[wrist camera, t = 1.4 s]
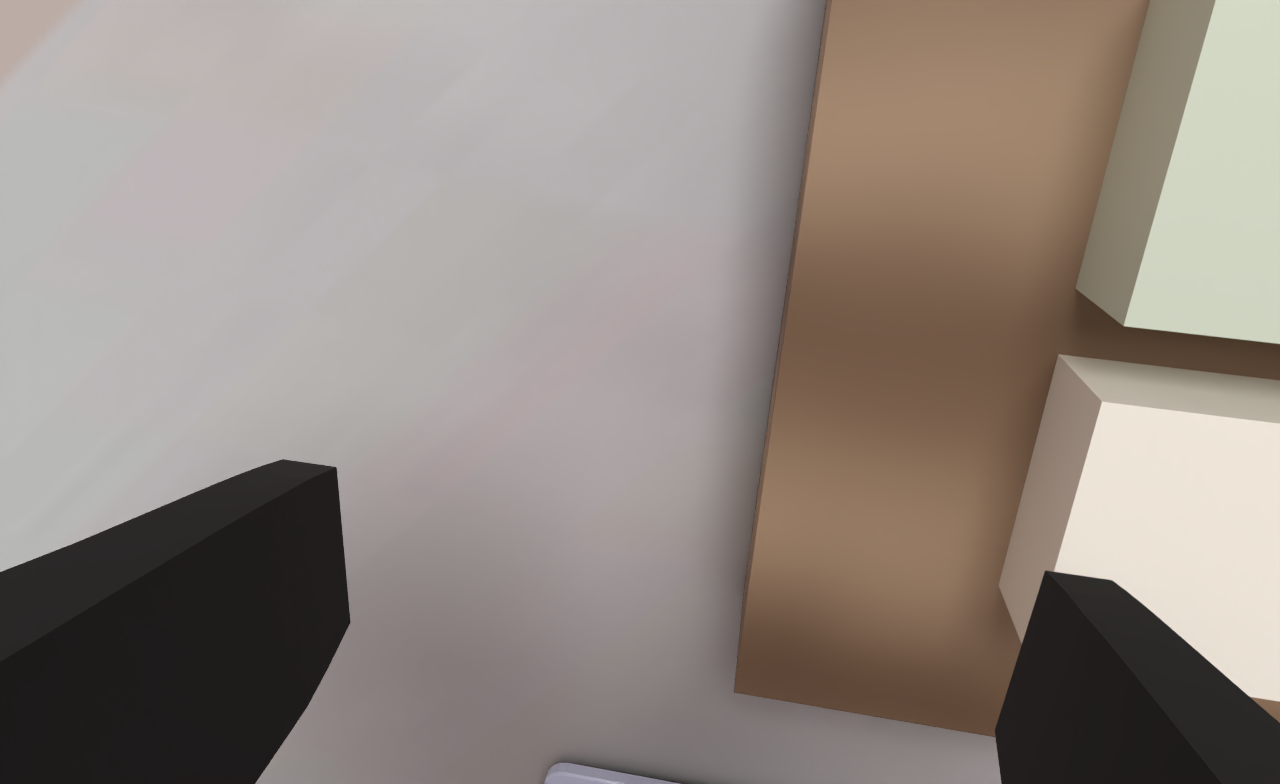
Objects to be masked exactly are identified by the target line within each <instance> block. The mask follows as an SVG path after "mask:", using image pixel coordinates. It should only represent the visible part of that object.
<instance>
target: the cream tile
mask: <svg viewBox="0 0 1280 784" xmlns="http://www.w3.org/2000/svg"><path fill="white" fill-rule="evenodd" d="M1045 570H1046V571H1053V572H1060V573H1066V574H1073V575H1080V576H1087V577H1094V578H1101V579H1108V580H1112V581H1114V582H1115V583H1117V584H1118V585H1119V586H1120V587H1122V588H1123V589H1124V590H1126V591H1127V592H1128V593H1130V594H1131V595H1132V596H1133V597H1135V598H1136V599H1137V600H1138V601H1140V602H1141V603H1142V604H1143V605H1144V606H1146V607H1147V608H1148V609H1149V610H1150V611H1152V612H1153V613H1154V614H1155V615H1156V616H1157V617H1159V618H1160V619H1161V620H1162V621H1163V622H1164V623H1166V624H1167V625H1168V626H1169V627H1170V628H1171V629H1172V630H1174V631H1175V632H1176V633H1177V634H1178V635H1179V636H1181V637H1182V638H1183V639H1184V640H1185V641H1186V642H1187V643H1189V644H1190V645H1191V646H1192V647H1193V648H1194V649H1195V650H1197V651H1198V652H1199V653H1200V654H1201V655H1202V656H1203V657H1205V658H1206V659H1207V660H1208V661H1209V662H1210V663H1211V664H1213V665H1214V666H1215V667H1216V668H1217V669H1218V670H1219V671H1221V672H1222V673H1223V674H1224V675H1225V676H1226V677H1227V678H1229V679H1230V680H1231V681H1232V682H1233V683H1234V684H1235V685H1237V686H1238V687H1239V688H1240V689H1241V690H1242V691H1243V692H1245V693H1246V694H1247V695H1248V696H1249V697H1254V698H1260V699H1267V700H1273V701H1279V702H1280V380H1271V379H1263V378H1254V377H1246V376H1238V375H1229V374H1221V373H1212V372H1204V371H1195V370H1187V369H1178V368H1170V367H1162V366H1153V365H1145V364H1136V363H1128V362H1119V361H1111V360H1102V359H1094V358H1086V357H1077V356H1069V355H1060V354H1058V358H1057V362H1056V365H1055V369H1054V373H1053V377H1052V381H1051V385H1050V389H1049V392H1048V396H1047V400H1046V404H1045V408H1044V412H1043V416H1042V419H1041V423H1040V427H1039V431H1038V435H1037V439H1036V443H1035V446H1034V450H1033V454H1032V458H1031V462H1030V466H1029V470H1028V474H1027V477H1026V481H1025V485H1024V489H1023V493H1022V497H1021V501H1020V504H1019V508H1018V512H1017V516H1016V520H1015V524H1014V528H1013V531H1012V535H1011V539H1010V543H1009V547H1008V551H1007V555H1006V558H1005V562H1004V566H1003V570H1002V574H1001V578H1000V582H999V588H1000V590H1001V593H1002V596H1003V598H1004V601H1005V603H1006V606H1007V608H1008V611H1009V613H1010V616H1011V618H1012V621H1013V623H1014V626H1015V628H1016V631H1017V633H1018V636H1019V639H1020V641H1021V644H1022V642H1023V639H1024V636H1025V633H1026V629H1027V626H1028V623H1029V620H1030V617H1031V614H1032V610H1033V607H1034V604H1035V601H1036V598H1037V594H1038V591H1039V588H1040V585H1041V582H1042V579H1043V575H1044V572H1045Z"/></svg>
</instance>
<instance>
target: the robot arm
mask: <svg viewBox="0 0 1280 784" xmlns="http://www.w3.org/2000/svg"><path fill="white" fill-rule="evenodd" d="M349 624H350V613H349V602H348V591H347V580H346V568H345V557H344V546H343V535H342V524H341V512H340V501H339V490H338V479H337V468H336V467H331V466H324V465H318V464H311V463H304V462H297V461H290V460H279V461H276V462H273V463H270V464H267V465H263V466H261V467H258V468H255V469H252V470H250V471H247V472H244V473H242V474H239V475H237V476H234V477H231V478H229V479H227V480H224V481H222V482H219V483H217V484H214V485H212V486H209V487H207V488H205V489H202V490H200V491H197V492H195V493H193V494H190V495H188V496H186V497H183V498H181V499H179V500H176V501H174V502H171V503H169V504H167V505H164V506H162V507H160V508H157V509H155V510H153V511H150V512H148V513H145V514H143V515H141V516H138V517H136V518H134V519H131V520H129V521H127V522H124V523H122V524H119V525H117V526H115V527H112V528H110V529H108V530H105V531H103V532H100V533H98V534H96V535H93V536H91V537H89V538H86V539H84V540H81V541H79V542H77V543H74V544H72V545H69V546H67V547H64V548H61V549H59V550H56V551H54V552H51V553H49V554H46V555H43V556H41V557H38V558H36V559H33V560H31V561H28V562H25V563H23V564H20V565H18V566H15V567H13V568H10V569H7V570H5V571H2V572H0V784H255V783H256V781H257V780H258V778H259V777H260V776H261V774H262V773H263V771H264V770H265V768H266V767H267V765H268V764H269V762H270V761H271V759H272V758H273V756H274V755H275V754H276V752H277V751H278V749H279V748H280V746H281V745H282V743H283V742H284V740H285V739H286V737H287V736H288V735H289V733H290V732H291V730H292V729H293V727H294V726H295V724H296V723H297V721H298V720H299V718H300V717H301V715H302V714H303V712H304V711H305V709H306V708H307V706H308V704H309V702H310V701H311V699H312V697H313V695H314V693H315V691H316V689H317V687H318V686H319V684H320V682H321V680H322V678H323V676H324V674H325V672H326V671H327V669H328V667H329V665H330V663H331V661H332V659H333V657H334V655H335V653H336V650H337V648H338V646H339V644H340V642H341V640H342V638H343V636H344V634H345V632H346V630H347V628H348V626H349ZM995 736H996V743H997V751H998V759H999V766H1000V774H1001V782H1002V784H1280V723H1279V722H1278V721H1277V720H1276V719H1275V718H1274V717H1272V716H1271V715H1270V714H1269V713H1268V712H1267V711H1265V710H1264V709H1263V708H1262V707H1261V706H1260V705H1258V704H1257V703H1256V702H1255V701H1254V700H1253V699H1252V698H1250V697H1249V696H1248V695H1247V694H1246V693H1245V692H1243V691H1242V690H1241V689H1240V688H1239V687H1238V686H1237V685H1235V684H1234V683H1233V682H1232V681H1231V680H1230V679H1229V678H1227V677H1226V676H1225V675H1224V674H1223V673H1222V672H1221V671H1219V670H1218V669H1217V668H1216V667H1215V666H1214V665H1213V664H1211V663H1210V662H1209V661H1208V660H1207V659H1206V658H1205V657H1203V656H1202V655H1201V654H1200V653H1199V652H1198V651H1197V650H1195V649H1194V648H1193V647H1192V646H1191V645H1190V644H1189V643H1187V642H1186V641H1185V640H1184V639H1183V638H1182V637H1181V636H1179V635H1178V634H1177V633H1176V632H1175V631H1174V630H1172V629H1171V628H1170V627H1169V626H1168V625H1167V624H1166V623H1164V622H1163V621H1162V620H1161V619H1160V618H1159V617H1157V616H1156V615H1155V614H1154V613H1153V612H1152V611H1150V610H1149V609H1148V608H1147V607H1146V606H1144V605H1143V604H1142V603H1141V602H1140V601H1138V600H1137V599H1136V598H1135V597H1133V596H1132V595H1131V594H1130V593H1128V592H1127V591H1126V590H1124V589H1123V588H1122V587H1120V586H1119V585H1118V584H1117V583H1115V582H1114V581H1112V580H1108V579H1101V578H1094V577H1087V576H1080V575H1073V574H1066V573H1060V572H1053V571H1046V570H1045V572H1044V575H1043V579H1042V582H1041V585H1040V588H1039V591H1038V594H1037V598H1036V601H1035V604H1034V607H1033V610H1032V614H1031V617H1030V620H1029V623H1028V626H1027V629H1026V633H1025V636H1024V639H1023V642H1022V645H1021V648H1020V652H1019V655H1018V658H1017V661H1016V664H1015V668H1014V671H1013V674H1012V677H1011V680H1010V683H1009V687H1008V690H1007V693H1006V696H1005V699H1004V702H1003V706H1002V709H1001V712H1000V715H999V718H998V721H997V725H996V728H995ZM544 784H680V783H674V782H669V781H664V780H658V779H653V778H647V777H642V776H637V775H631V774H626V773H621V772H615V771H610V770H604V769H599V768H594V767H588V766H583V765H577V764H572V763H558V764H555V765H553V766H552V767H551V768H550V769H549V770H548V773H547V776H546V779H545V782H544Z"/></svg>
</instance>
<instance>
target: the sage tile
mask: <svg viewBox="0 0 1280 784" xmlns="http://www.w3.org/2000/svg"><path fill="white" fill-rule="evenodd" d="M1076 289H1077V290H1078V291H1079V292H1081V293H1082V294H1083V295H1084V296H1086V297H1087V298H1088V299H1090V300H1091V301H1092V302H1093V303H1095V304H1096V305H1097V306H1098V307H1100V308H1101V309H1102V310H1104V311H1105V312H1106V313H1107V314H1109V315H1110V316H1111V317H1112V318H1114V319H1115V320H1116V321H1118V322H1119V323H1120V324H1121V325H1123V326H1127V327H1136V328H1144V329H1153V330H1162V331H1171V332H1180V333H1188V334H1197V335H1206V336H1215V337H1224V338H1232V339H1241V340H1250V341H1259V342H1268V343H1276V344H1280V0H1150V2H1149V6H1148V10H1147V14H1146V18H1145V22H1144V26H1143V29H1142V33H1141V37H1140V41H1139V45H1138V49H1137V53H1136V56H1135V60H1134V64H1133V68H1132V72H1131V76H1130V80H1129V84H1128V87H1127V91H1126V95H1125V99H1124V103H1123V107H1122V111H1121V114H1120V118H1119V122H1118V126H1117V130H1116V134H1115V138H1114V141H1113V145H1112V149H1111V153H1110V157H1109V161H1108V165H1107V168H1106V172H1105V176H1104V180H1103V184H1102V188H1101V192H1100V196H1099V199H1098V203H1097V207H1096V211H1095V215H1094V219H1093V223H1092V226H1091V230H1090V234H1089V238H1088V242H1087V246H1086V250H1085V253H1084V257H1083V261H1082V265H1081V269H1080V273H1079V277H1078V280H1077V284H1076Z"/></svg>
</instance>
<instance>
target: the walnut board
mask: <svg viewBox="0 0 1280 784" xmlns="http://www.w3.org/2000/svg"><path fill="white" fill-rule="evenodd" d="M1149 2H1150V0H827V1H826V8H825V15H824V22H823V30H822V37H821V44H820V51H819V58H818V65H817V73H816V80H815V87H814V94H813V101H812V108H811V115H810V123H809V130H808V137H807V144H806V151H805V158H804V166H803V173H802V180H801V187H800V194H799V201H798V208H797V216H796V223H795V230H794V237H793V244H792V251H791V259H790V266H789V273H788V280H787V287H786V294H785V302H784V309H783V316H782V323H781V330H780V337H779V344H778V352H777V359H776V366H775V373H774V380H773V387H772V395H771V402H770V409H769V416H768V423H767V430H766V437H765V445H764V452H763V459H762V466H761V473H760V480H759V488H758V495H757V502H756V509H755V516H754V523H753V530H752V538H751V545H750V552H749V559H748V566H747V573H746V581H745V588H744V595H743V603H742V613H741V624H740V634H739V645H738V655H737V666H736V676H735V687H734V692H735V693H741V694H747V695H753V696H758V697H764V698H770V699H776V700H782V701H788V702H793V703H799V704H805V705H811V706H817V707H823V708H829V709H834V710H840V711H846V712H852V713H858V714H864V715H869V716H875V717H881V718H887V719H893V720H899V721H904V722H910V723H916V724H922V725H928V726H934V727H940V728H945V729H951V730H957V731H963V732H969V733H975V734H980V735H986V736H992V737H996V736H995V728H996V725H997V721H998V718H999V715H1000V712H1001V709H1002V706H1003V702H1004V699H1005V696H1006V693H1007V690H1008V687H1009V683H1010V680H1011V677H1012V674H1013V671H1014V668H1015V664H1016V661H1017V658H1018V655H1019V652H1020V648H1021V645H1022V644H1021V641H1020V639H1019V636H1018V633H1017V631H1016V628H1015V626H1014V623H1013V621H1012V618H1011V616H1010V613H1009V611H1008V608H1007V606H1006V603H1005V601H1004V598H1003V596H1002V593H1001V590H1000V588H999V582H1000V578H1001V574H1002V570H1003V566H1004V562H1005V558H1006V555H1007V551H1008V547H1009V543H1010V539H1011V535H1012V531H1013V528H1014V524H1015V520H1016V516H1017V512H1018V508H1019V504H1020V501H1021V497H1022V493H1023V489H1024V485H1025V481H1026V477H1027V474H1028V470H1029V466H1030V462H1031V458H1032V454H1033V450H1034V446H1035V443H1036V439H1037V435H1038V431H1039V427H1040V423H1041V419H1042V416H1043V412H1044V408H1045V404H1046V400H1047V396H1048V392H1049V389H1050V385H1051V381H1052V377H1053V373H1054V369H1055V365H1056V362H1057V358H1058V354H1060V355H1069V356H1077V357H1086V358H1094V359H1102V360H1111V361H1119V362H1128V363H1136V364H1145V365H1153V366H1162V367H1170V368H1178V369H1187V370H1195V371H1204V372H1212V373H1221V374H1229V375H1238V376H1246V377H1254V378H1263V379H1271V380H1280V344H1276V343H1268V342H1259V341H1250V340H1241V339H1232V338H1224V337H1215V336H1206V335H1197V334H1188V333H1180V332H1171V331H1162V330H1153V329H1144V328H1136V327H1127V326H1123V325H1121V324H1120V323H1119V322H1118V321H1116V320H1115V319H1114V318H1112V317H1111V316H1110V315H1109V314H1107V313H1106V312H1105V311H1104V310H1102V309H1101V308H1100V307H1098V306H1097V305H1096V304H1095V303H1093V302H1092V301H1091V300H1090V299H1088V298H1087V297H1086V296H1084V295H1083V294H1082V293H1081V292H1079V291H1078V290H1077V289H1076V284H1077V280H1078V277H1079V273H1080V269H1081V265H1082V261H1083V257H1084V253H1085V250H1086V246H1087V242H1088V238H1089V234H1090V230H1091V226H1092V223H1093V219H1094V215H1095V211H1096V207H1097V203H1098V199H1099V196H1100V192H1101V188H1102V184H1103V180H1104V176H1105V172H1106V168H1107V165H1108V161H1109V157H1110V153H1111V149H1112V145H1113V141H1114V138H1115V134H1116V130H1117V126H1118V122H1119V118H1120V114H1121V111H1122V107H1123V103H1124V99H1125V95H1126V91H1127V87H1128V84H1129V80H1130V76H1131V72H1132V68H1133V64H1134V60H1135V56H1136V53H1137V49H1138V45H1139V41H1140V37H1141V33H1142V29H1143V26H1144V22H1145V18H1146V14H1147V10H1148V6H1149ZM1250 698H1252V699H1253V700H1254V701H1255V702H1256V703H1257V704H1258V705H1260V706H1261V707H1262V708H1263V709H1264V710H1265V711H1267V712H1268V713H1269V714H1270V715H1271V716H1272V717H1274V718H1275V719H1276V720H1277V721H1278V722H1279V723H1280V702H1279V701H1273V700H1267V699H1260V698H1254V697H1250Z"/></svg>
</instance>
